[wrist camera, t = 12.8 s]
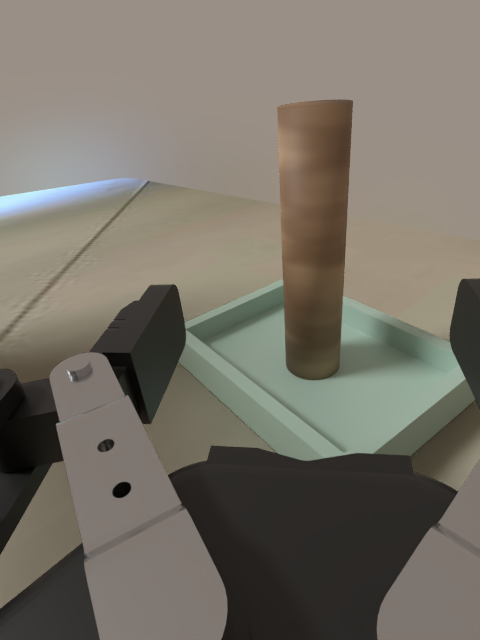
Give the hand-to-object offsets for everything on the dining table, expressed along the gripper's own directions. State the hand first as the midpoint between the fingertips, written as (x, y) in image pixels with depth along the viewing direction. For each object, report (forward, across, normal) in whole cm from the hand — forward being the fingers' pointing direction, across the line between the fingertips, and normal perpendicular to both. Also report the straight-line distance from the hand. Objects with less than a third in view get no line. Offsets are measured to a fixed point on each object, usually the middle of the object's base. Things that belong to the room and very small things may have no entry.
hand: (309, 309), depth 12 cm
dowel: (+10, 0, +10) cm, 14 cm away
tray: (+10, 0, +10) cm, 14 cm away
